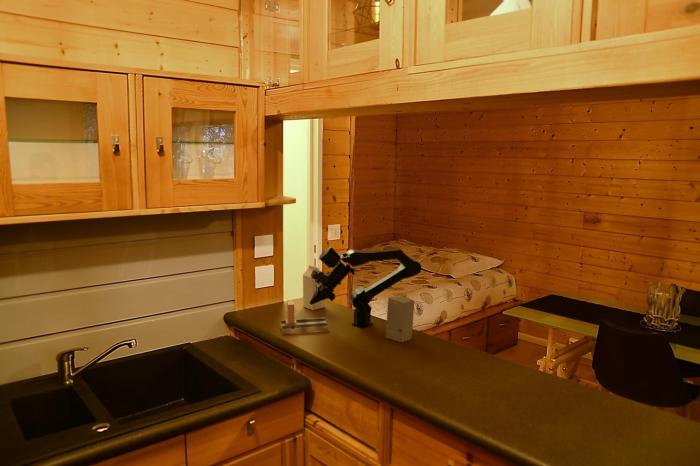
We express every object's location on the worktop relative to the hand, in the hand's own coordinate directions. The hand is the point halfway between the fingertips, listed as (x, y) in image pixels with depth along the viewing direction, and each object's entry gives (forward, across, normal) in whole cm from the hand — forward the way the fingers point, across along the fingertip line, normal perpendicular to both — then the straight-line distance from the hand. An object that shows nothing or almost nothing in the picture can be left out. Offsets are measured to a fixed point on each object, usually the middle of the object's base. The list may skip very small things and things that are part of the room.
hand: (310, 303), depth 215 cm
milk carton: (+4, -28, +11) cm, 30 cm away
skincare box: (-15, +18, +30) cm, 38 cm away
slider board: (+9, 0, +5) cm, 11 cm away
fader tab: (+11, 0, 0) cm, 11 cm away
